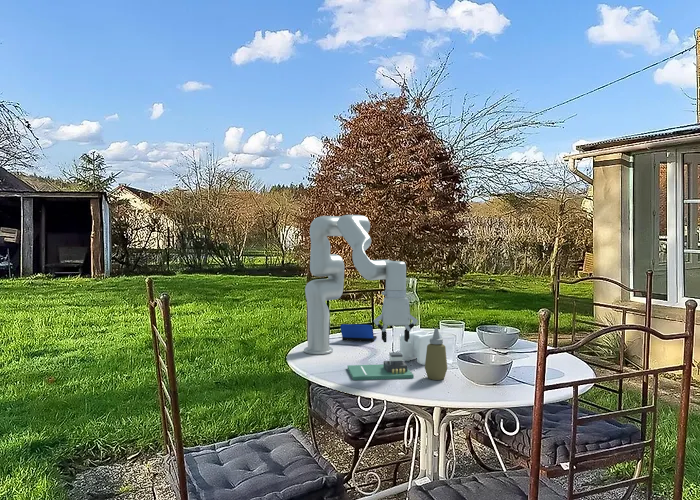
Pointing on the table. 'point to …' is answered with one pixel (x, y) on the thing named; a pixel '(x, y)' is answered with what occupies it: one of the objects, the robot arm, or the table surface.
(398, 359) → the plug
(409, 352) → the cable organizer
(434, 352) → the squeeze bottle
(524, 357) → the table surface
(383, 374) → the board
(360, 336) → the laptop
